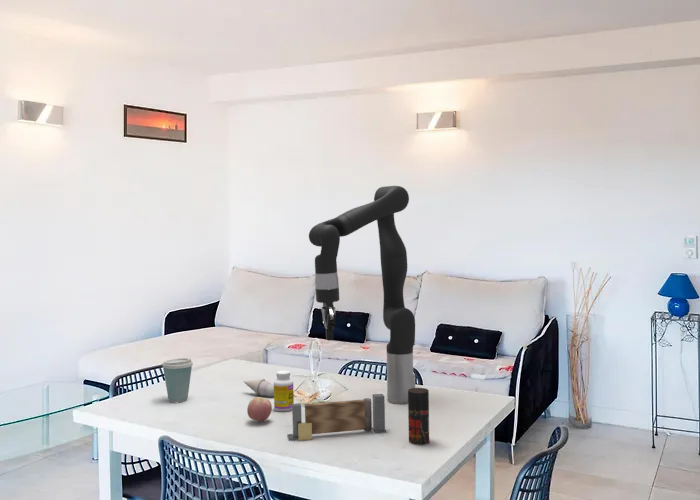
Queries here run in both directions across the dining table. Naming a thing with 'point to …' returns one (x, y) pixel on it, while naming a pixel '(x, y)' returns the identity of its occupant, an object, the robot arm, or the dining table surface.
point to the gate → (339, 416)
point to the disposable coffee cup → (177, 378)
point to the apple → (259, 409)
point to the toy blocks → (299, 425)
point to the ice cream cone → (261, 387)
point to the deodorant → (418, 416)
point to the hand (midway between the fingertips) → (330, 339)
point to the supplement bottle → (283, 392)
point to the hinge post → (378, 413)
